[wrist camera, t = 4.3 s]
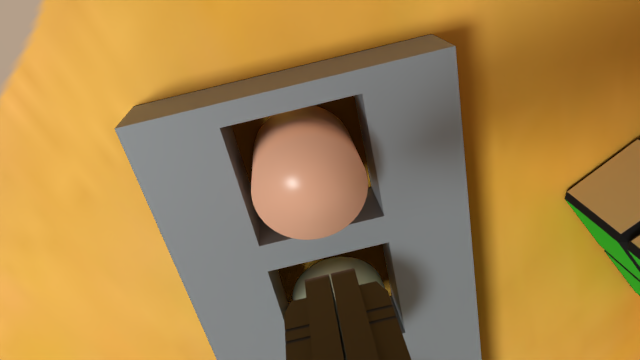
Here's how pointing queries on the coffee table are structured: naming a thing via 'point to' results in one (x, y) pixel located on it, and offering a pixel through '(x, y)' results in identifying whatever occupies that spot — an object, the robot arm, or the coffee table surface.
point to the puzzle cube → (614, 210)
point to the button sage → (333, 265)
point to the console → (364, 231)
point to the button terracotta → (307, 174)
